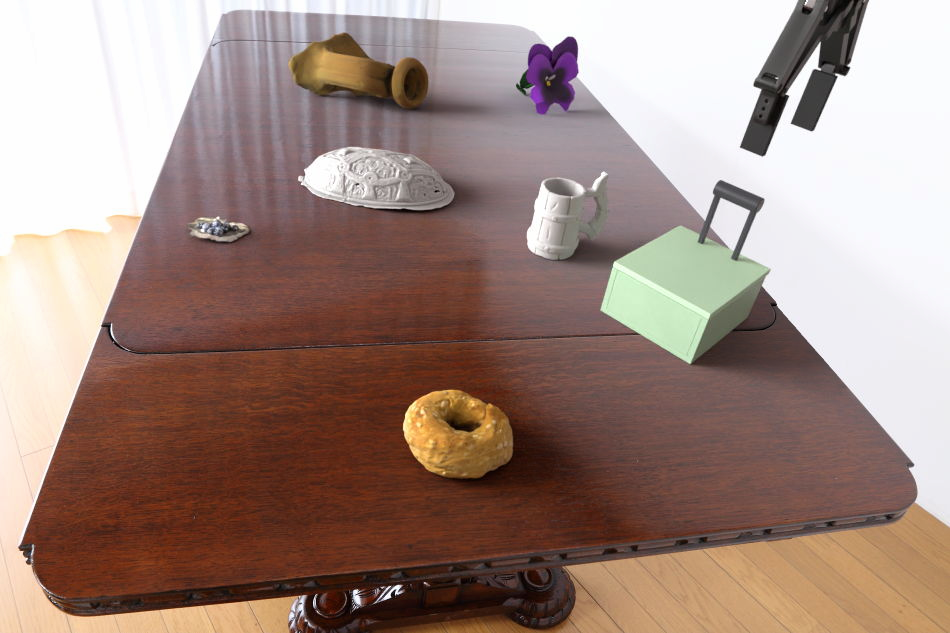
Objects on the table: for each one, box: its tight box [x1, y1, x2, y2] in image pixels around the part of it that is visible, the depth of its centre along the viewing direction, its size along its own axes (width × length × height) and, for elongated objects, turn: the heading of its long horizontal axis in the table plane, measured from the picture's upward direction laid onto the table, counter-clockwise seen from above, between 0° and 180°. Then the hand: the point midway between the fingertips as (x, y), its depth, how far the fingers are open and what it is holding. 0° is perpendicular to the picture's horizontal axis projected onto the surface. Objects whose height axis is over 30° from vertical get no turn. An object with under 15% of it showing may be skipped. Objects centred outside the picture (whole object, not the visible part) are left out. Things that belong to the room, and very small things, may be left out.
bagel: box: [402, 389, 514, 480], centre depth 66 cm, size 10×11×5 cm
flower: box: [515, 36, 580, 115], centre depth 149 cm, size 15×15×14 cm
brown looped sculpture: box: [288, 31, 429, 110], centre depth 137 cm, size 18×13×22 cm
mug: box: [526, 171, 610, 261], centre depth 98 cm, size 8×12×12 cm, turn 106°
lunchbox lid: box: [612, 179, 772, 320], centre depth 84 cm, size 16×14×10 cm
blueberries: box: [187, 216, 251, 243], centre depth 93 cm, size 7×8×2 cm
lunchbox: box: [600, 266, 767, 365], centre depth 89 cm, size 16×14×7 cm
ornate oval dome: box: [297, 146, 455, 211], centre depth 109 cm, size 16×25×7 cm, turn 84°
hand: (778, 138), depth 78 cm, fingers open, 13 cm apart
